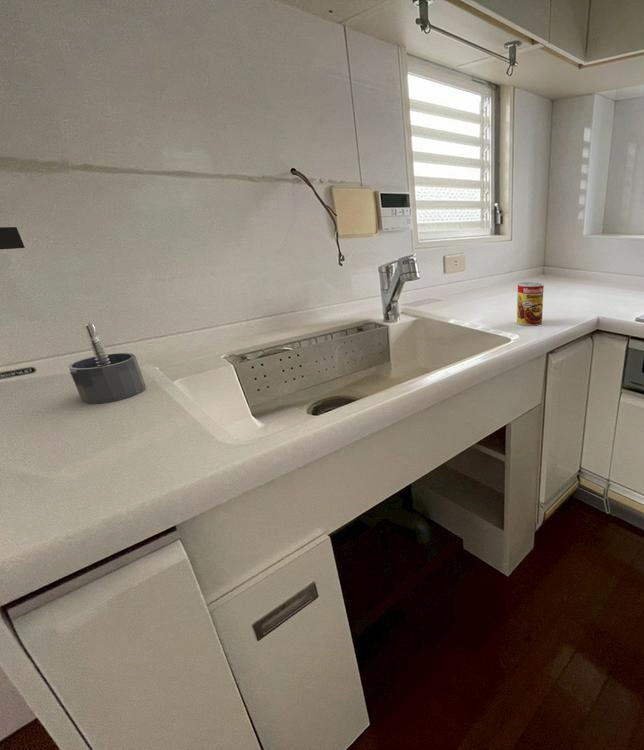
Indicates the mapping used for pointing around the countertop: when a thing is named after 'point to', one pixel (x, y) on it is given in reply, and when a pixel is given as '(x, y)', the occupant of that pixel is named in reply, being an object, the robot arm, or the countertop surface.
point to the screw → (96, 345)
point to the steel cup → (107, 378)
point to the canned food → (530, 303)
